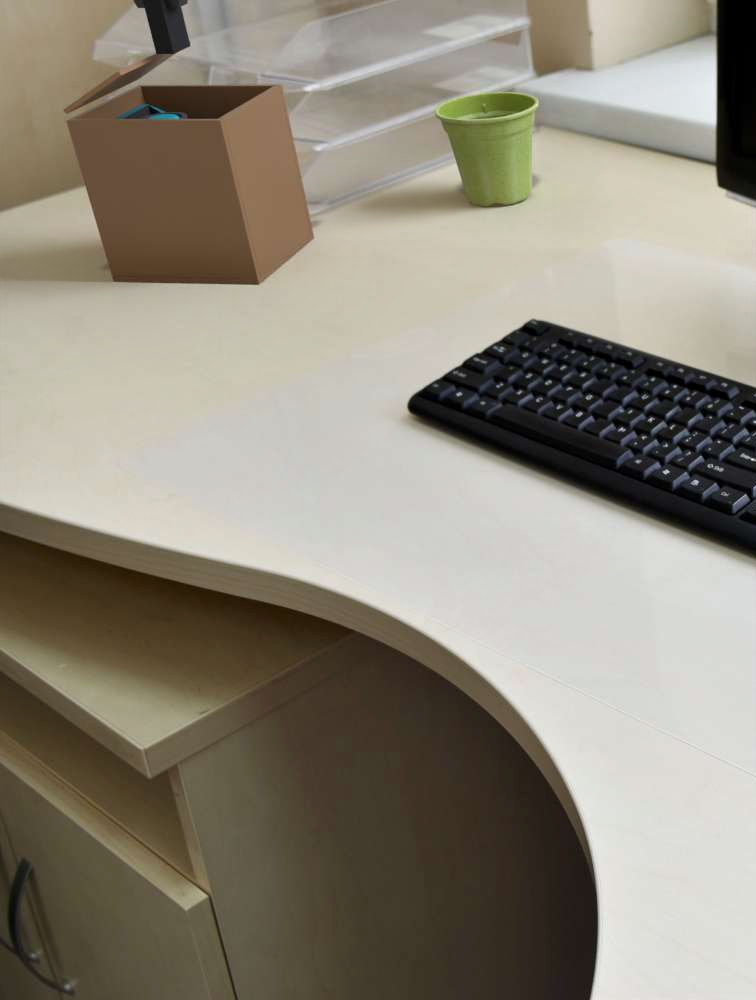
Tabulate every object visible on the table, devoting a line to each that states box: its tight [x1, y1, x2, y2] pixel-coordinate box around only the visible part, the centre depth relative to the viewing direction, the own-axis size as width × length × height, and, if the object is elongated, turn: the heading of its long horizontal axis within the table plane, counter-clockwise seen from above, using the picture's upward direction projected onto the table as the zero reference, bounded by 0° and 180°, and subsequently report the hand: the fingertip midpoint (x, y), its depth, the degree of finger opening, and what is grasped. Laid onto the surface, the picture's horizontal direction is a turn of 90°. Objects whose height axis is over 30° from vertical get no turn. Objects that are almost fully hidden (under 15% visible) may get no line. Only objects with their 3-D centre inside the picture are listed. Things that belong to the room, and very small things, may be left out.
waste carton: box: [66, 83, 315, 285], centre depth 115 cm, size 13×11×14 cm
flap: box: [63, 39, 192, 115], centre depth 111 cm, size 6×11×1 cm, turn 171°
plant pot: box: [434, 91, 540, 207], centre depth 128 cm, size 9×9×9 cm
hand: (173, 49), depth 109 cm, fingers closed
